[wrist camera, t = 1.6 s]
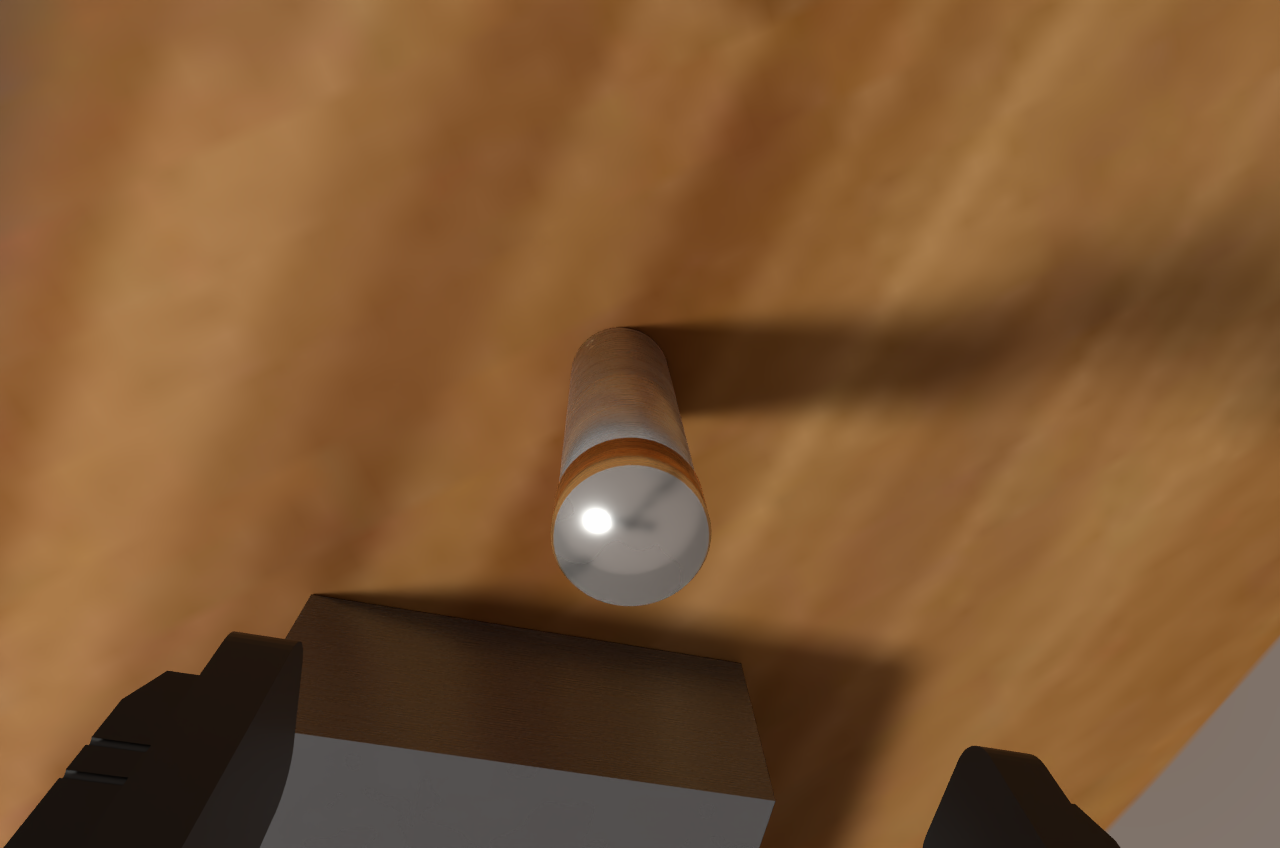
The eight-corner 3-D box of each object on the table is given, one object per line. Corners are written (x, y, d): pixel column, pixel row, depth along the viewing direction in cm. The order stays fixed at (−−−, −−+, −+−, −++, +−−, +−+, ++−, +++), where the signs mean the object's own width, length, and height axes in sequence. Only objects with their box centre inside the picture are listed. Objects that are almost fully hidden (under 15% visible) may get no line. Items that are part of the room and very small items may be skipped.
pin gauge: (680, 336, 24) (729, 480, 15) (657, 429, 25) (690, 619, 16) (580, 316, 24) (566, 450, 15) (561, 411, 25) (538, 594, 16)
